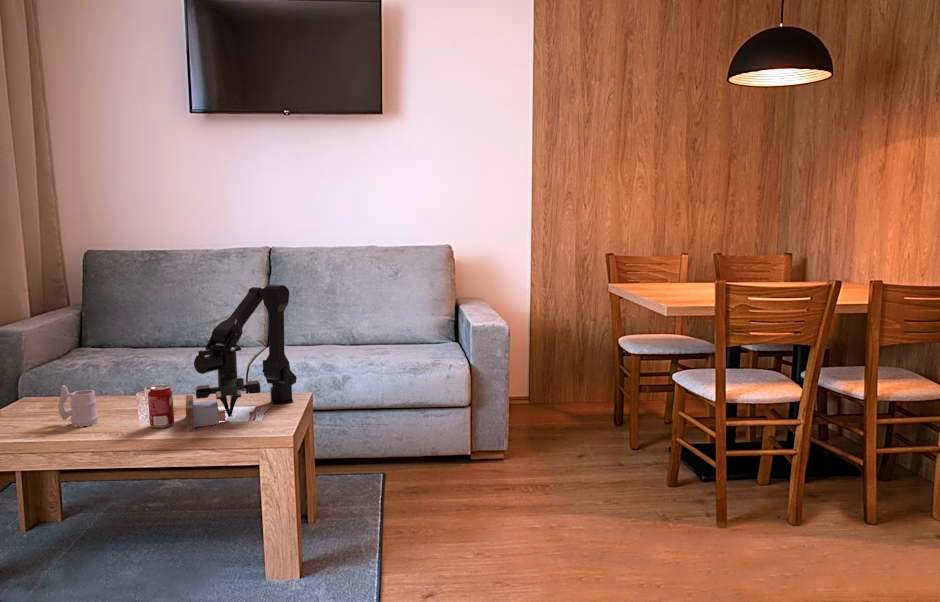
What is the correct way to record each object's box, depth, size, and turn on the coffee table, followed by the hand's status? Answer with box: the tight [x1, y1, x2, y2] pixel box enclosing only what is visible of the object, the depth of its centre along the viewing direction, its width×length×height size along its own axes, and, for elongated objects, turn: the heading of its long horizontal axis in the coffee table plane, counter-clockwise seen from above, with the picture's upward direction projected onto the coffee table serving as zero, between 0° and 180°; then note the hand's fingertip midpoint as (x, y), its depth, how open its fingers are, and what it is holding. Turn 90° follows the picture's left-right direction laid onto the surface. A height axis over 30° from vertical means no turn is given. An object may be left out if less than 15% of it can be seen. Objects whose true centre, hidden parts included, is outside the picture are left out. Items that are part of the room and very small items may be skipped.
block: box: [193, 399, 220, 428], centre depth 221 cm, size 7×9×5 cm
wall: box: [185, 394, 195, 432], centre depth 219 cm, size 2×16×7 cm, turn 21°
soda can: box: [147, 384, 175, 429], centre depth 217 cm, size 7×7×12 cm
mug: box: [57, 384, 100, 428], centre depth 220 cm, size 8×12×12 cm, turn 87°
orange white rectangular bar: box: [218, 409, 226, 421], centre depth 221 cm, size 8×3×3 cm, turn 111°
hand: (229, 416), depth 224 cm, fingers closed
